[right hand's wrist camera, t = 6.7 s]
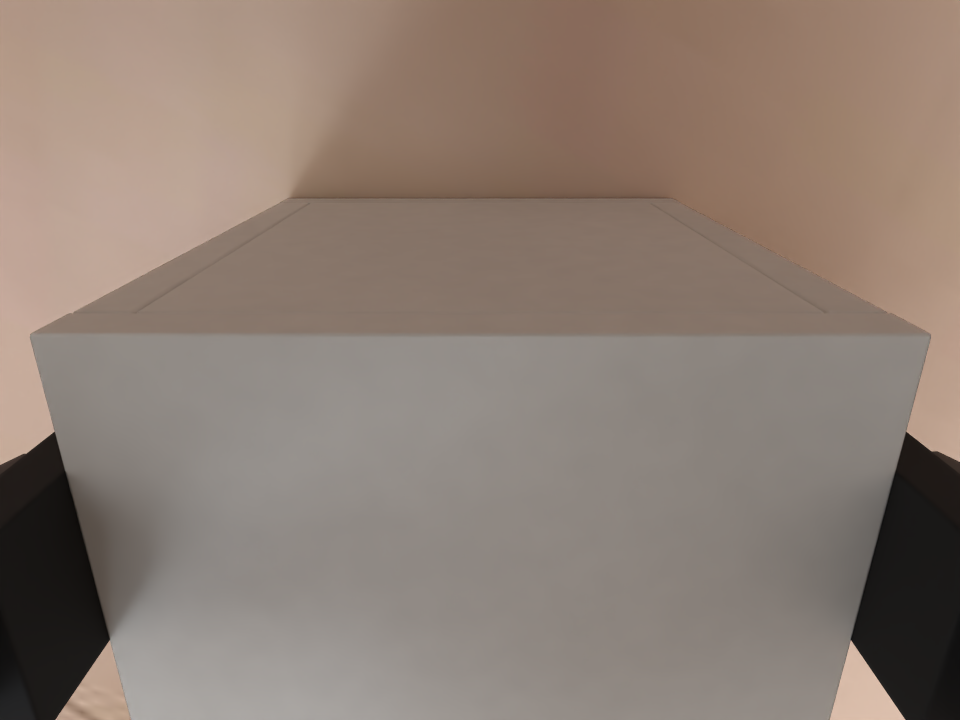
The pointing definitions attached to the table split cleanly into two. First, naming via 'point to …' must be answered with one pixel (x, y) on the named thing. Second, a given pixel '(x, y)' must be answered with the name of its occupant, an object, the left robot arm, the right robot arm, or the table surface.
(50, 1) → the table surface
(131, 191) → the table surface
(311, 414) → the cabinet
